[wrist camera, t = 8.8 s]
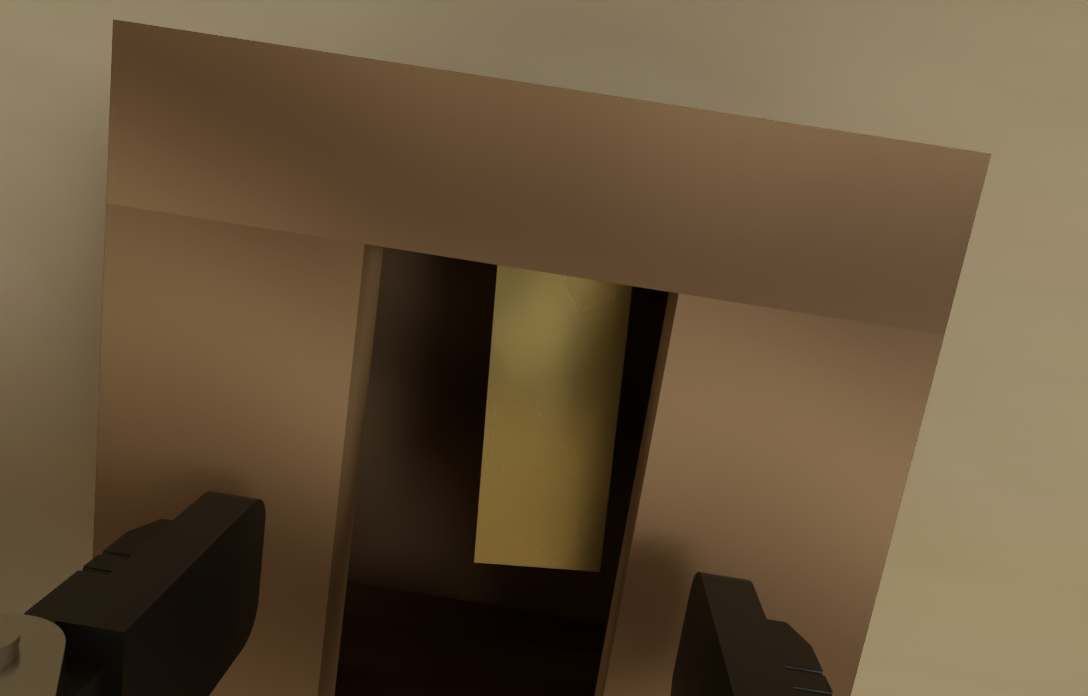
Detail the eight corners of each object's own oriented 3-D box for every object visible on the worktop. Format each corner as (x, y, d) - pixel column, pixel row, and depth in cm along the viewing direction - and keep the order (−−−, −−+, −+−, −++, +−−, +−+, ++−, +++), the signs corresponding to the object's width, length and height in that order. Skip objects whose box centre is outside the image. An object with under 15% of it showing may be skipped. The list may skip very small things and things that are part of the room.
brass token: (506, 232, 21) (497, 260, 15) (605, 240, 21) (634, 271, 16) (488, 457, 23) (474, 562, 17) (581, 465, 23) (599, 571, 17)
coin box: (335, 87, 22) (113, 19, 12) (801, 158, 21) (991, 154, 11) (289, 582, 25) (81, 872, 15) (697, 649, 25) (773, 992, 14)
